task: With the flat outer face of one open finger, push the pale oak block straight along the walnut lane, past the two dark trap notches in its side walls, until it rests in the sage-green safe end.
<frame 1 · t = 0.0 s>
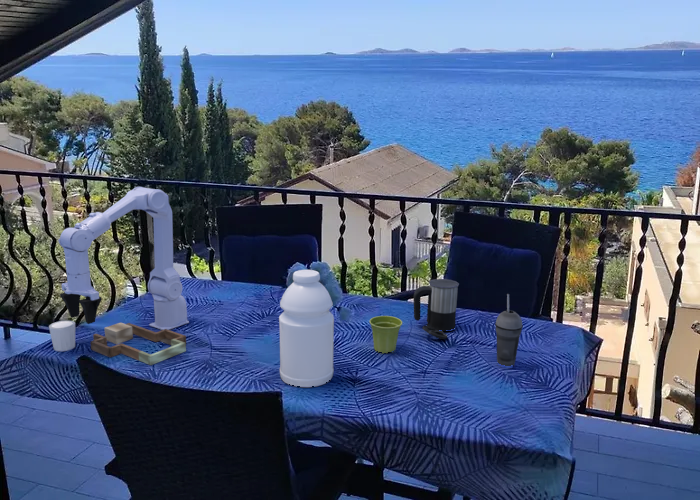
hand: (82, 319, 172), 10 cm above the table, tool pointing down, fingers open, 7 cm apart
bottle: (306, 376, 162), on the table
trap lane: (137, 345, 180), on the table
white tapered cup: (64, 348, 178), on the table
plant pot: (384, 350, 180), on the table
milk frother: (439, 332, 194), on the table
beverage cup: (505, 365, 171), on the table
oak block: (119, 339, 185), on the table
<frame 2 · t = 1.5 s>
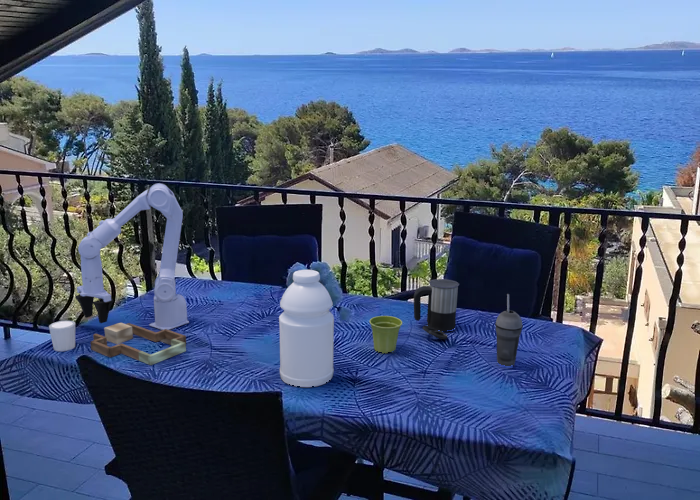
hand: (95, 319, 190), 4 cm above the table, tool pointing down, fingers open, 7 cm apart
nothing on the table moved.
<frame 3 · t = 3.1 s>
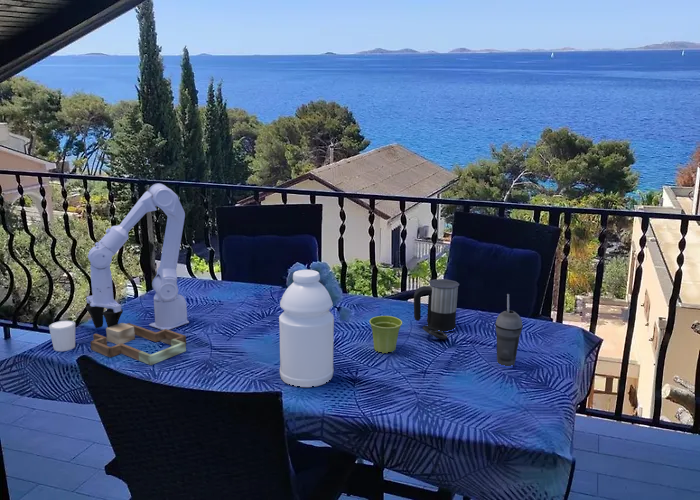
hand: (105, 329, 188), 1 cm above the table, tool pointing down, fingers open, 6 cm apart
oak block: (121, 339, 184), on the table, touching gripper
everything else where it was.
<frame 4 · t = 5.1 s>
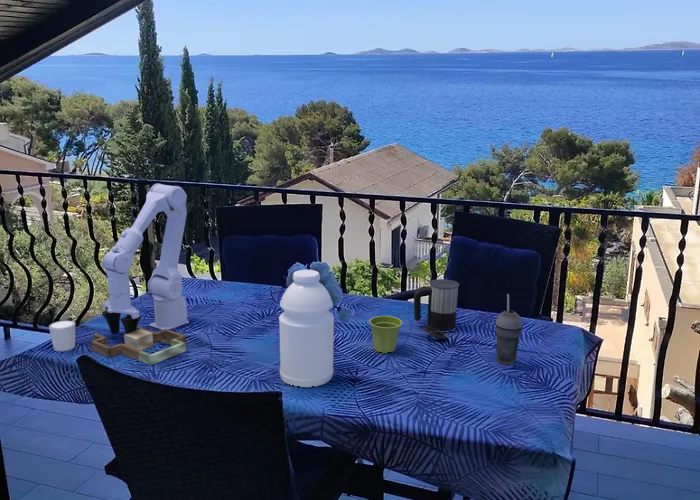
hand: (123, 336, 183), 1 cm above the table, tool pointing down, fingers open, 7 cm apart
oak block: (139, 346, 179), on the table, touching gripper
everything else where it was.
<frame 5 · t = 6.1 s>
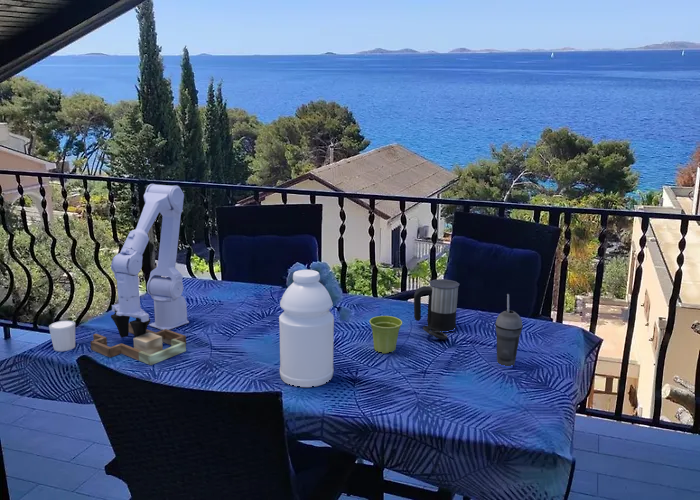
hand: (132, 339, 181), 1 cm above the table, tool pointing down, fingers open, 7 cm apart
oak block: (148, 350, 177), on the table, touching gripper
everything else where it was.
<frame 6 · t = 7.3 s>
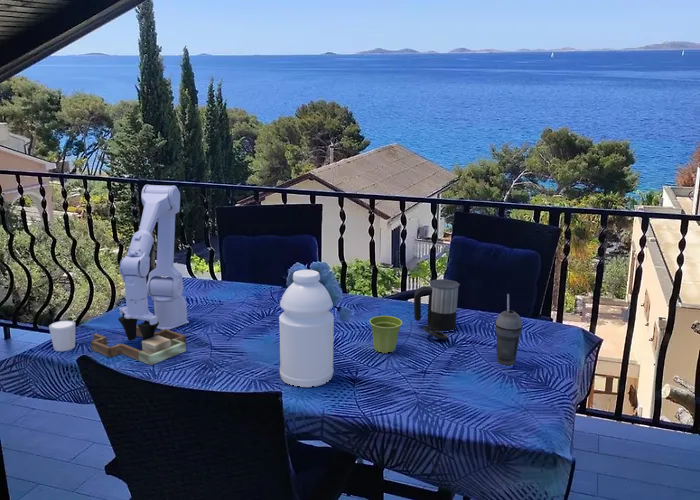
hand: (140, 342, 179), 1 cm above the table, tool pointing down, fingers open, 7 cm apart
oak block: (157, 353, 175), on the table, touching gripper
everything else where it was.
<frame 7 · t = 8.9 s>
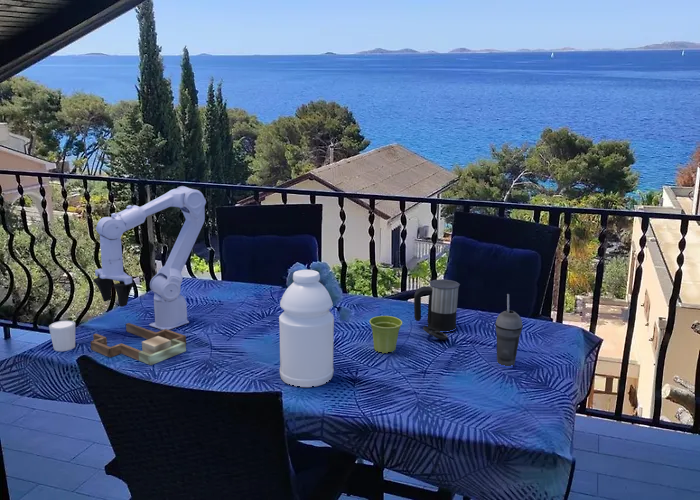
hand: (115, 303, 185), 10 cm above the table, tool pointing down, fingers open, 7 cm apart
oak block: (157, 354, 175), on the table
everything else where it was.
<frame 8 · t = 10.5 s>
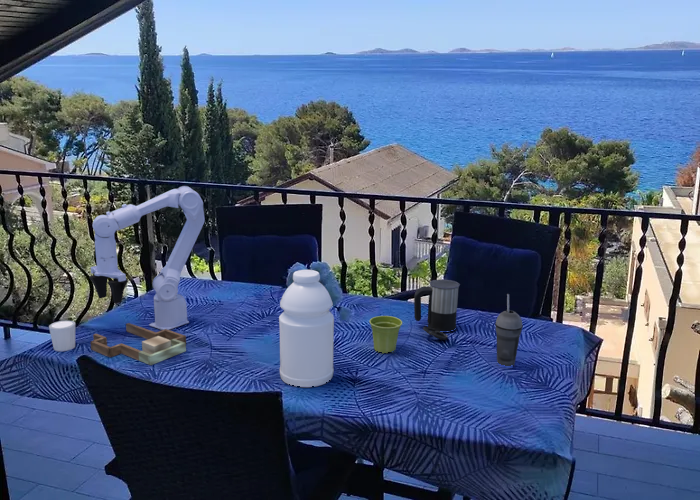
hand: (110, 300, 187), 10 cm above the table, tool pointing down, fingers open, 7 cm apart
nothing on the table moved.
at the end: oak block inside the target area (0.8 cm from its centre), on the table; oak block tilted 0°; oak block moved 17.5 cm from its start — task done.
